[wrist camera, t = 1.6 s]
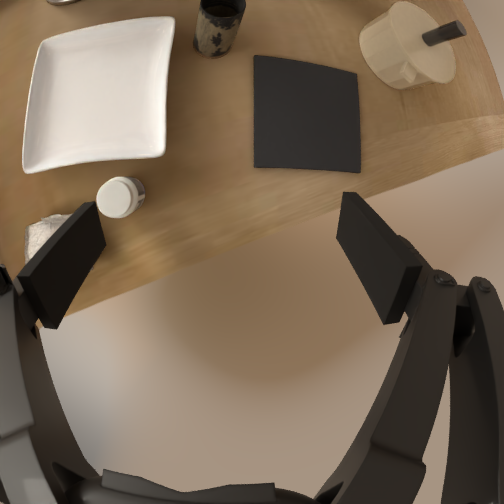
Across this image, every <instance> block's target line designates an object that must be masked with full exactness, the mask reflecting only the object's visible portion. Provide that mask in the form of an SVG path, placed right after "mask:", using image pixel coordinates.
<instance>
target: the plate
mask: <svg viewBox="0 0 504 504" xmlns="http://www.w3.org/2000/svg"><path fill="white" fill-rule="evenodd" d="M175 25H176V21H175V18H174V17H171V16H157V17H145V18H137V19H129V20H123V21H117V22H111V23H106V24H101V25H96V26H92V27H87V28H83V29H79V30H74V31H70V32H67V33H63V34H59V35H56V36H53V37H50V38H48V39H45V40H44V41H43V42H42V43H41V44H40V46H39V49H38V52H37V56H36V60H35V65H34V69H33V74H32V79H31V85H30V91H29V97H28V104H27V112H26V119H25V129H24V139H23V153H22V164H23V170H24V172H25V173H28V174H31V173H36V172H42V171H46V170H50V169H54V168H59V167H63V166H68V165H74V164H81V163H88V162H96V161H108V160H124V159H146V158H157V157H161V156H163V155H164V153H165V151H166V136H167V113H166V111H167V84H168V72H169V62H170V56H171V50H172V44H173V39H174V33H175Z"/></svg>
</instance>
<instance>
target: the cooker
mask: <svg viewBox="0 0 504 504" xmlns="http://www.w3.org/2000/svg"><path fill="white" fill-rule="evenodd" d="M388 13H389V10H388V11H386V12H385V13H383V14H382V15H380V16H378V17H377V18H375V19H374V20H372V21H371V22H369V23H368V24H366V25H365V27H363V29H362V30H361V32H360V36H359V44H360V49H361V52H362V54H363V57H364V59H365V61H366V62H367V64H368V66H369V67H370V68H371V70H372V71H373V72H374V73H375V75H376V76H377V77H378V78H379V79H381V80H382V81H383V82H384V83H386V84H387V85H389V86H391V87H393V88H395V89H399V90H410V89H414V88H417V87H421V86H425V85H429V84H433V83H436V82H433V81H431V80H429V79H428V78H426V77H425V76H424V75H423V74H421V73H420V72H419V71H418V70H417V69H416V68H415V67H414V66H413V65H412V64H411V62H410V61H409V60H408V59H407V57H406V56H405V54H404V53H403V52H402V50H401V48H400V47H399V45H398V43H397V42H396V40H395V38H394V35H393V33H392V30H391V28H390V24H389V19H388Z"/></svg>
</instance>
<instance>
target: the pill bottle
mask: <svg viewBox="0 0 504 504" xmlns="http://www.w3.org/2000/svg"><path fill="white" fill-rule="evenodd" d="M144 198H145V189H144V186H143V185H142V183H141V182H140V181H139V180H138V179H136V178H133V177H114V178H112V179H110V180H109V181H107V182H106V183H105V184H103V185H102V186H101V188H100V189H99V191H98V194H97V205H98V208H99V210H100V211H101V212H102V213H103V214H104V215H105V216H107V217H111V218H123V217H126V216H128V215H130V214H131V213H132V212H134V211H135V210H137V209H138V208H139V207H140V206H141V205H142V203H143V201H144Z"/></svg>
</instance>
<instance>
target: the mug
mask: <svg viewBox="0 0 504 504" xmlns="http://www.w3.org/2000/svg"><path fill="white" fill-rule="evenodd" d="M245 7H246V2H245V0H201V2H200V8H199V14H198V20H197V26H196V31H195V37H194V42H193V46H194V49H195V51H196V52H197V53H198V54H199V55H201V56H202V57H205V58H211V59H214V58H219V57H222V56H224V55H226V54H227V53H228V52H229V51H230V49H231V46H232V44H233V42H234V39H235V36H236V34H237V31H238V28H239V25H240V23H241V20H242V17H243V14H244V10H245Z"/></svg>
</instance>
